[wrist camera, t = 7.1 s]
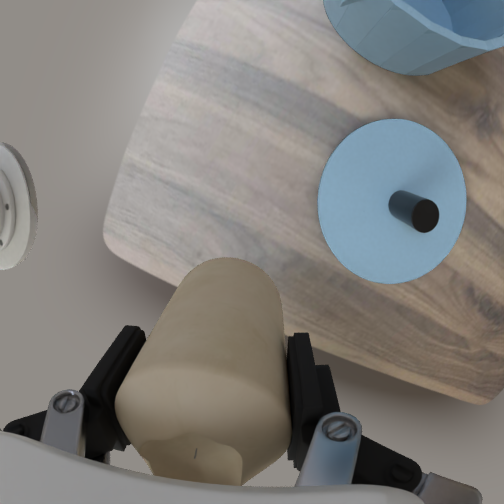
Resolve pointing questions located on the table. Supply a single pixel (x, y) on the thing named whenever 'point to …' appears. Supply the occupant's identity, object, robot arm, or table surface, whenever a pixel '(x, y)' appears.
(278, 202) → the table surface
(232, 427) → the candle
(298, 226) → the table surface
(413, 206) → the lid
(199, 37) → the table surface
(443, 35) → the pot
